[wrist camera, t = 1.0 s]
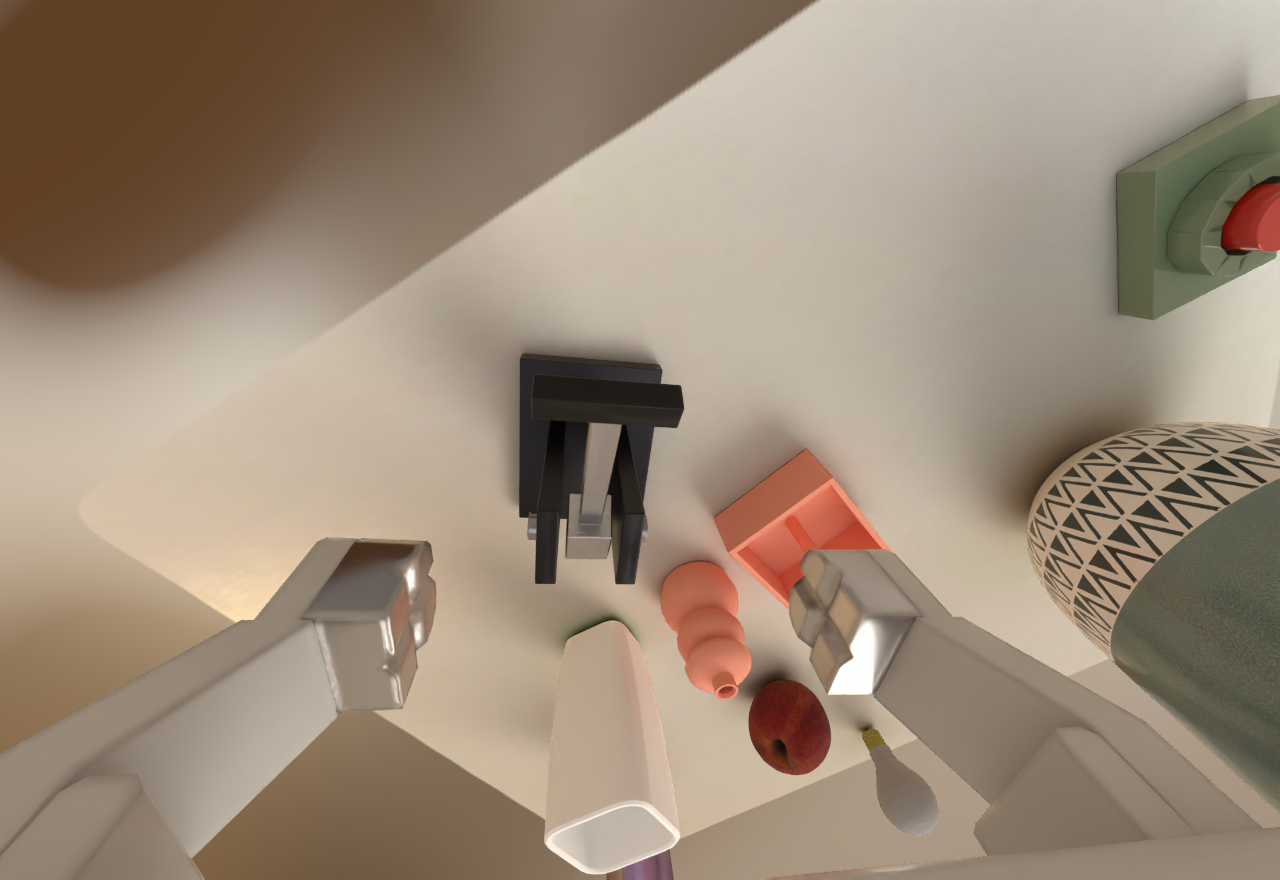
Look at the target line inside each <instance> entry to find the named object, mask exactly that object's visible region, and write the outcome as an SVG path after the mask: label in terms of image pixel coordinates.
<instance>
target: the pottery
mask: <svg viewBox="0 0 1280 880" xmlns="http://www.w3.org/2000/svg"><path fill="white" fill-rule="evenodd" d="M714 521H715V523H716V525H717V528H718V530H719V532H720V534H721V537H722V539H723V541H724V544H725V546H726V548H727V551H728V553H729V554H730V555H731V556H732V557H733V558H734V559H735V560H737V561H738V562H739V563H740V564H741V565H742V566H743V567H744V568H745V569H746V570H747V571H748V572H749V573H750V574H751V575H752V576H754V577H755V578H756V579H757V580H758V581H759V582H760V583H761V584H762V585H763V586H764V587H765V588H766V589H767V590H768V591H769V592H770V593H772V594H773V595H774V596H775V597H776V598H777V599H778V600H779V601H780V602H781V603H782V604H783V605H784V606H785V607H786V608H787V609H788V610H789V597H790V593H791V590H792V587H793V584H795V583H796V582H797V581H798V580H799V579H801V578H802V577H803V576H804V574H803V572H802V570H801V568H800V564H801V561H802V559H803V556H804V555H805V554H806V553H807V552H808V550H809V549H817V550H861V549H886V550H888V551H890V552H892V551H891V550H890V549H889V548H888V546H887V545H886V544H885V543H884V541H883V540H882V539H881V537H880V536H879V535H878V534H877V532H876V531H875V530H874V529H873V527H872V526H871V525H870V523H869V522H868V521H867V520H866V518H865V517H864V516H863V515H862V513H861V512H860V511H859V509H858V508H857V507H856V506H855V504H854V503H853V502H852V501H851V499H850V498H849V497H848V495H847V494H846V493H845V492H844V490H843V489H842V488H841V487H840V485H839V484H838V483H837V481H836V480H835V479H834V478H833V476H832V475H831V474H830V473H829V472H828V471H827V470H826V469H825V468H824V467H823V466H822V465H821V464H820V463H819V462H818V461H817V460H816V459H815V458H814V457H813V455H812V454H811V453H810V452H809V451H808V450H807V449H805V450H804V451H803V452H801V453H800V454H799V455H797V456H796V457H795V458H793V459H792V460H791V461H789V462H788V463H787V464H785V465H784V466H783V467H781V468H780V469H779V470H777V471H776V472H775V473H773V474H772V475H771V476H769V477H768V478H767V479H765V480H764V481H763V482H761V483H760V484H759V485H757V486H756V487H755V488H753V489H752V490H751V491H749V492H748V493H747V494H745V495H744V496H743V497H741V498H740V499H739V500H737V501H736V502H735V503H733V504H732V505H731V506H729V507H728V508H727V509H725V510H724V511H722V512H721V513H720V514H718V515H717V516H716V517H714ZM661 608H662V613H663V616H664V618H665V620H666V622H667V623H668V625H669V626H670V627H671V629H672V630H673V631H675V632H676V633H677V634H678V637H677V642H678V649H679V652H680V654H681V656H682V657H683V659H684V660H685V661H686V667H685V670H686V674H687V676H688V678H689V680H690V682H691V683H692V684H693V685H694V686H696V687H697V688H699V689H702V690H705V691H709V692H715V696H716V697H717V698H718V699H721V700H727V699H730V698H733V697H734V696H735V695H736V694H737V693H738V687H737V685H739V684H740V683H741V682H742V681H743V680H744V679H745V677H746V676H747V675H748V673H749V671H750V669H751V655H750V652H749V650H748V649H747V648H746V647H745V646H744V631H743V628H742V626H741V624H740V622H739V621H738V619H737V618H735V617H736V615H737V611H738V594H737V591H736V588H735V586H734V584H733V582H732V581H731V579H730V578H729V577H728V576H727V574H726V573H725V572H724V571H723V570H722V569H721V568H720V567H719V566H717V565H715V564H713V563H710V562H703V561H700V562H691V563H687V564H684V565H682V566H680V567H678V568H676V569H675V570H674V571H672V572H671V573H670V574H669V575H668V576H667V578H666V579H665V581H664V583H663V586H662V596H661Z"/></svg>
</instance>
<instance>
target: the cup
mask: <svg viewBox="0 0 1280 880" xmlns="http://www.w3.org/2000/svg"><path fill="white" fill-rule="evenodd" d="M679 837H680V829H679V823H678V817H677V810H676V804H675V798H674V792H673V785H672V779H671V773H670V768H669V762H668V757H667V751H666V746H665V740H664V736H663V731H662V726H661V721H660V717H659V712H658V707H657V703H656V699H655V695H654V691H653V687H652V683H651V679H650V675H649V672H648V668H647V665H646V662H645V658H644V655H643V652H642V648H641V646H640V644H639V643H638V642H637V640H636V639H635V638H634V637H633V635H632V634H631V633H630V631H629V630H628V629H627V628H626V626H625V625H624V624H622V623H621V622H618V621H606V622H603V623H601V624H599V625H596V626H594V627H592V628H590V629H588V630H585V631H583V632H581V633H579V634H577V635H575V636H573V637H571V638H570V639H568V641H567V642H566V644H565V649H564V654H563V659H562V664H561V668H560V675H559V681H558V687H557V693H556V700H555V709H554V717H553V726H552V735H551V747H550V759H549V771H548V786H547V803H546V821H545V839H544V843H545V844H546V845H547V847H548V848H549V849H550V850H551V851H553V852H554V853H556V854H557V855H559V856H560V857H562V858H563V859H564V860H566V861H567V862H569V863H570V864H572V865H573V866H575V867H576V868H578V869H579V870H580V871H583V872H585V873H588V874H604V873H608V872H612V871H615V870H618V869H620V868H623V867H625V866H628V865H631V864H633V863H636V862H638V861H641V860H643V859H646V858H649V857H651V856H654V855H656V854H659V853H661V852H664V851H666V850H668V849H670V848H672V847H673V846H674V845H675V844H676V843H677V842H678V840H679Z"/></svg>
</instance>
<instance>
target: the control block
mask: <svg viewBox="0 0 1280 880" xmlns="http://www.w3.org/2000/svg"><path fill="white" fill-rule="evenodd" d="M1267 182H1280V95H1277V96H1271V97H1265V98H1259V99H1253V100H1249V101H1247V102H1245V103H1244V104H1242V105H1240V106H1238V107H1236V108H1234V109H1233V110H1231V111H1229V112H1227V113H1225V114H1224V115H1222V116H1220V117H1218V118H1216V119H1215V120H1213V121H1211V122H1209V123H1207V124H1206V125H1204V126H1202V127H1200V128H1198V129H1197V130H1195V131H1193V132H1191V133H1189V134H1188V135H1186V136H1184V137H1182V138H1180V139H1179V140H1177V141H1175V142H1173V143H1171V144H1169V145H1168V146H1166V147H1164V148H1162V149H1160V150H1159V151H1157V152H1155V153H1153V154H1151V155H1150V156H1148V157H1146V158H1144V159H1142V160H1141V161H1139V162H1137V163H1135V164H1133V165H1132V166H1130V167H1128V168H1126V169H1124V170H1123V171H1121V172H1119V173H1117V219H1118V276H1119V314H1122V315H1127V316H1132V317H1138V318H1143V319H1148V320H1154V319H1156V318H1158V317H1160V316H1162V315H1164V314H1166V313H1168V312H1170V311H1172V310H1174V309H1176V308H1178V307H1180V306H1182V305H1184V304H1186V303H1188V302H1190V301H1192V300H1194V299H1196V298H1198V297H1200V296H1202V295H1204V294H1206V293H1208V292H1210V291H1212V290H1214V289H1216V288H1217V287H1219V286H1221V285H1223V284H1225V283H1227V282H1229V281H1231V280H1233V279H1235V278H1237V277H1239V276H1241V275H1243V274H1245V273H1247V272H1249V271H1251V270H1253V269H1255V268H1257V267H1259V266H1261V265H1263V264H1265V263H1267V262H1269V261H1271V260H1273V259H1275V258H1276V253H1277V251H1274V252H1255V251H1237V250H1229V249H1226V248H1225V247H1223V246H1222V244H1221V234H1222V227H1223V225H1224V223H1225V221H1226V219H1227V217H1228V215H1229V214H1230V212H1231V210H1232V208H1233V206H1234V205H1235V204H1236V203H1237V202H1238V201H1239V200H1240V198H1241V197H1242V196H1243V195H1244V194H1245V193H1246V192H1247V191H1248V190H1250V189H1251V188H1253V187H1255V186H1257V185H1260V184H1263V183H1267Z"/></svg>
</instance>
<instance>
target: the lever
mask: <svg viewBox="0 0 1280 880" xmlns="http://www.w3.org/2000/svg"><path fill="white" fill-rule="evenodd" d="M531 405H532V418H533V419H538V420H554V421H571V422H587V423H589V424H588V433H587V442H586V451H585V460H584V469H583V478H582V487H581V494H571V493H570V494H569V497H568V511H567V528H566V547H565V558H567V559H607V556H608V552H609V548H610V545H611V541H612V496H611V495H607V493H608V489H609V484H610V479H611V474H612V470H613V465H614V460H615V455H616V450H617V446H618V441H619V436H620V431H621V427H622V425H636V426H652V427H668V428H677V427H678V424H679V421H680V419H681V416H682V413H683V411H684V403H683V396H682V388H681V386H680V385H670V384H657V383H644V382H631V381H618V380H605V379H592V378H579V377H566V376H553V375H540V374H535V375H534V379H533V387H532V395H531Z"/></svg>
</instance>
